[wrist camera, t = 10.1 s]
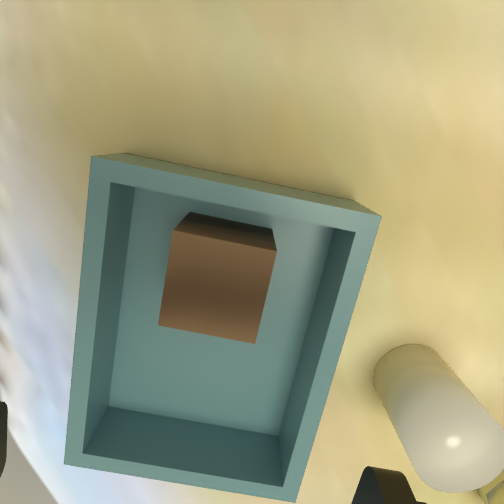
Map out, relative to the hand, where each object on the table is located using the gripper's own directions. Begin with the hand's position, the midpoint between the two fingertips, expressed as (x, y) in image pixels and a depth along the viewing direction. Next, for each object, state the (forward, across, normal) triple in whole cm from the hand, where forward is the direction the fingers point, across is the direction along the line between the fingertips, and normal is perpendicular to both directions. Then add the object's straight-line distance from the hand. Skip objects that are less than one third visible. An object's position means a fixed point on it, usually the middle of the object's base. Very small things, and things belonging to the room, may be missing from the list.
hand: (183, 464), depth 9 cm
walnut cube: (+16, 0, 0) cm, 16 cm away
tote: (+16, 0, +4) cm, 17 cm away
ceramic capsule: (+16, -14, +6) cm, 22 cm away
